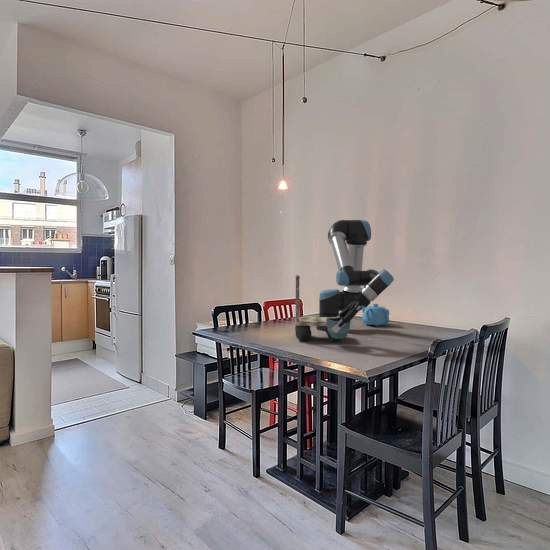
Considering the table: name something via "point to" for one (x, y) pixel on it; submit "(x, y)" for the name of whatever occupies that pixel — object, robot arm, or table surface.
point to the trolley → (308, 321)
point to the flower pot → (342, 332)
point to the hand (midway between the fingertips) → (332, 328)
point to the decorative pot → (375, 315)
